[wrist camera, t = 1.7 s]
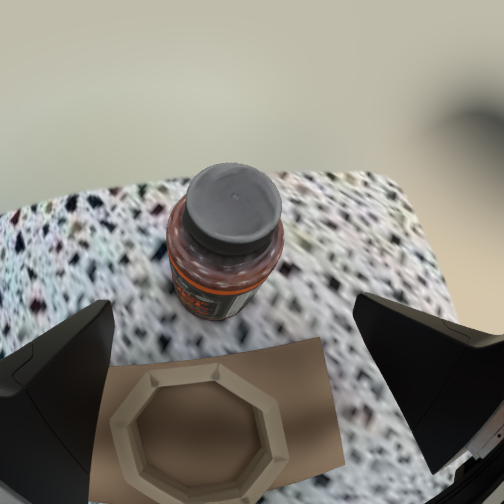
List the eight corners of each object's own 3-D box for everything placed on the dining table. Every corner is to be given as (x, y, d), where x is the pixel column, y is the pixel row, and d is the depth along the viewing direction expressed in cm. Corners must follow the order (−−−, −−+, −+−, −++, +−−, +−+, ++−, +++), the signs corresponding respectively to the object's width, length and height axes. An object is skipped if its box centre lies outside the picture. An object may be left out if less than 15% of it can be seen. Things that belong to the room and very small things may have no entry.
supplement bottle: (158, 285, 20) (128, 196, 10) (210, 234, 23) (227, 127, 13) (218, 339, 19) (245, 298, 9) (266, 281, 22) (328, 198, 12)
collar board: (339, 461, 17) (365, 473, 13) (89, 496, 11) (72, 515, 8) (314, 338, 21) (338, 329, 17) (59, 367, 16) (33, 363, 12)
